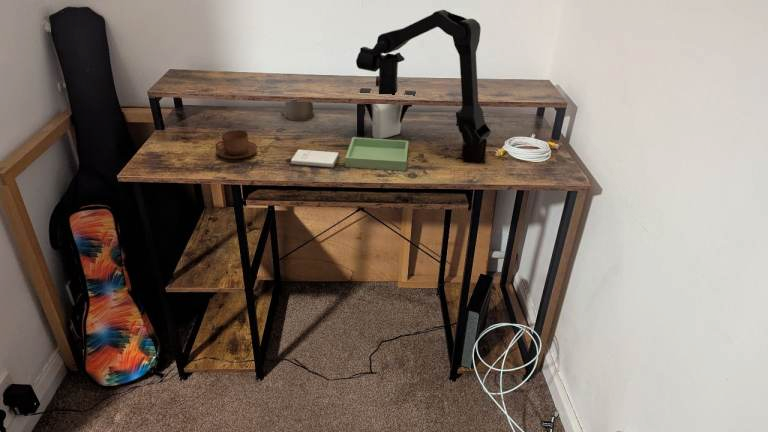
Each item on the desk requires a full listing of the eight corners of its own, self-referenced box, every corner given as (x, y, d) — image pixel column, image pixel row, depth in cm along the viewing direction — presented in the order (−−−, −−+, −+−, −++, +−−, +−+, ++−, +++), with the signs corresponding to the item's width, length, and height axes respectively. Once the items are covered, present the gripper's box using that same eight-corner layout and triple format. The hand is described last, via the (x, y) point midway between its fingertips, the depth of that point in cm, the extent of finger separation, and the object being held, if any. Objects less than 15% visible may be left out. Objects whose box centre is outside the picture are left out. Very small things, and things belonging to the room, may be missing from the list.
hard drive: (333, 168, 148) (291, 164, 149) (339, 157, 155) (298, 153, 156) (333, 163, 147) (290, 159, 148) (339, 152, 154) (298, 148, 155)
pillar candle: (318, 114, 186) (316, 73, 178) (304, 123, 178) (302, 80, 170) (294, 110, 189) (292, 69, 181) (280, 118, 181) (277, 76, 173)
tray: (408, 149, 161) (408, 140, 160) (405, 170, 148) (406, 161, 146) (352, 145, 162) (352, 137, 161) (345, 166, 149) (345, 157, 147)
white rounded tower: (378, 141, 166) (379, 104, 160) (370, 136, 169) (370, 100, 163) (402, 134, 172) (404, 98, 166) (393, 130, 175) (395, 94, 169)
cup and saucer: (237, 166, 147) (234, 146, 144) (207, 156, 152) (204, 136, 149) (266, 152, 156) (264, 133, 153) (237, 143, 161) (234, 124, 158)
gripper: (418, 69, 166) (415, 115, 174) (361, 65, 168) (361, 111, 176) (417, 78, 157) (414, 126, 165) (357, 75, 158) (357, 123, 166)
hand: (386, 121), depth 168 cm, fingers open, 9 cm apart
